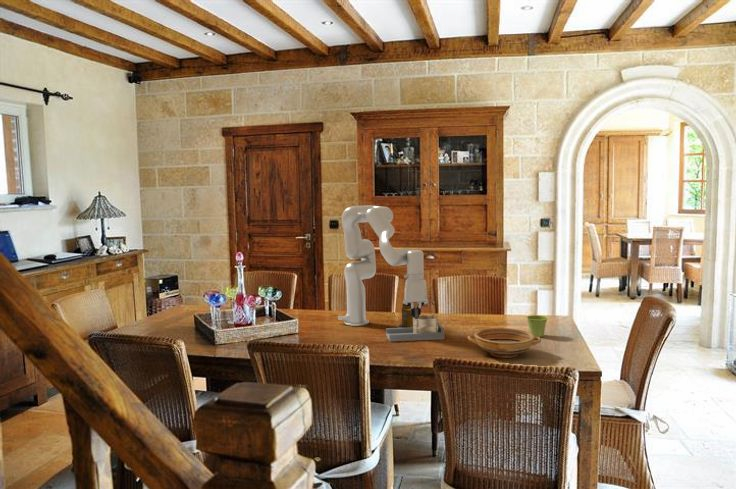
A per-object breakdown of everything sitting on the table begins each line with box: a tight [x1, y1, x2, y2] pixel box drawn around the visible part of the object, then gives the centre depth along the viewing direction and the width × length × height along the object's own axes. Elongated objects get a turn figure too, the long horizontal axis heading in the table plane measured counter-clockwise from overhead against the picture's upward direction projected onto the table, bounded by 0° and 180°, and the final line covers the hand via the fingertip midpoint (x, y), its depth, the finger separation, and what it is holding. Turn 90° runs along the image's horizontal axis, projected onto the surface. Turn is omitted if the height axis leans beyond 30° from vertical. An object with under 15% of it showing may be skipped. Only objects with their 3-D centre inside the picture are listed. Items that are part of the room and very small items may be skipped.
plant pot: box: [525, 314, 549, 338], centre depth 265 cm, size 9×9×9 cm
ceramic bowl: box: [467, 327, 542, 359], centre depth 238 cm, size 30×24×8 cm
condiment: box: [395, 302, 413, 328], centre depth 286 cm, size 7×8×12 cm
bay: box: [385, 322, 445, 342], centre depth 267 cm, size 25×12×5 cm, turn 96°
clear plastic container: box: [413, 306, 439, 333], centre depth 267 cm, size 10×9×12 cm
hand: (415, 316), depth 266 cm, fingers closed
